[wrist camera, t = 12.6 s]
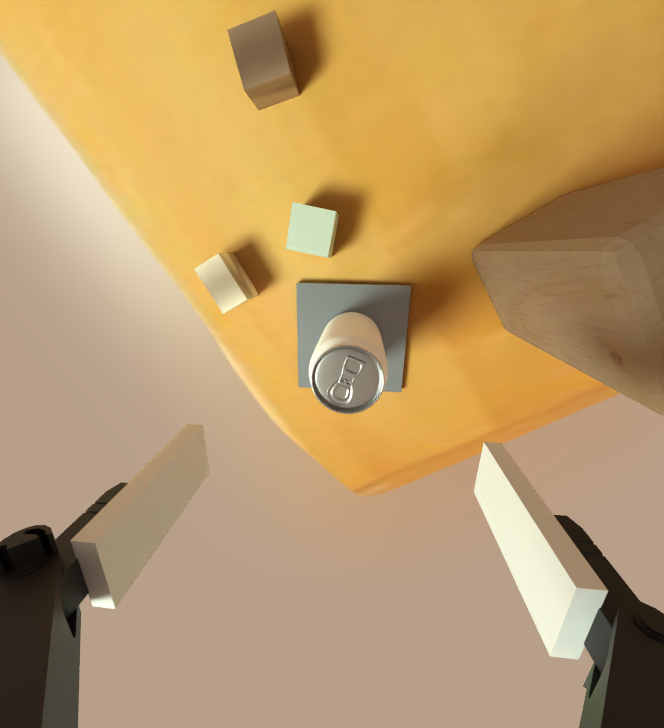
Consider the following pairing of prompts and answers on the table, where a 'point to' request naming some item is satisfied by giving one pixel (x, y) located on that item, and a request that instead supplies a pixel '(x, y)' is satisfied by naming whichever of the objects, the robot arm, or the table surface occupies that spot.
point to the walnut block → (264, 61)
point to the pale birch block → (226, 281)
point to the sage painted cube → (312, 230)
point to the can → (349, 364)
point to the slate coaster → (368, 299)
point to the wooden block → (589, 282)
